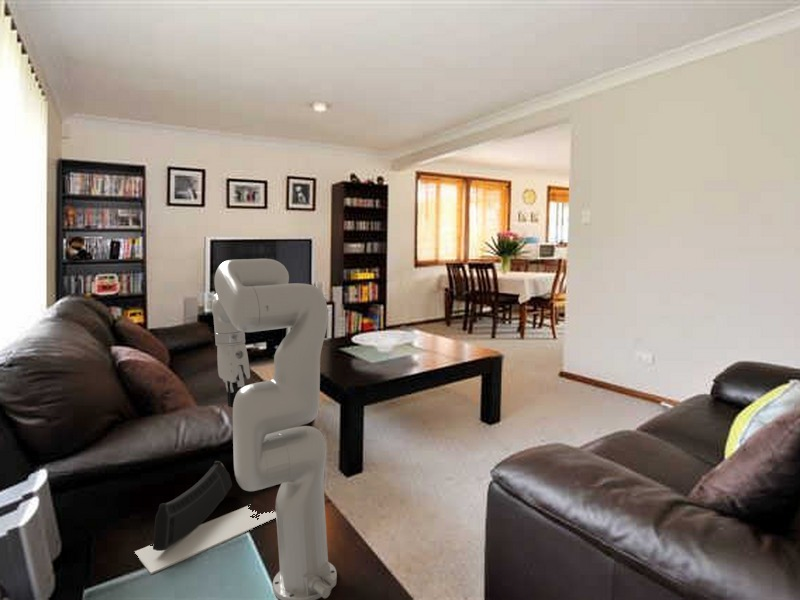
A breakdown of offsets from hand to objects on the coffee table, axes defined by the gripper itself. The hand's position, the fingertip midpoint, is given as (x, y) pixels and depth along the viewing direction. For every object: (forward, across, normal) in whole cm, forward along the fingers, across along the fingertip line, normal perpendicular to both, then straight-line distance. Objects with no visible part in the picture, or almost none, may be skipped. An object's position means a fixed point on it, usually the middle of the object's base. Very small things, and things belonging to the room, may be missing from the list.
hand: (235, 405), depth 131 cm
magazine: (+27, -2, +12) cm, 30 cm away
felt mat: (+27, -10, +12) cm, 31 cm away
